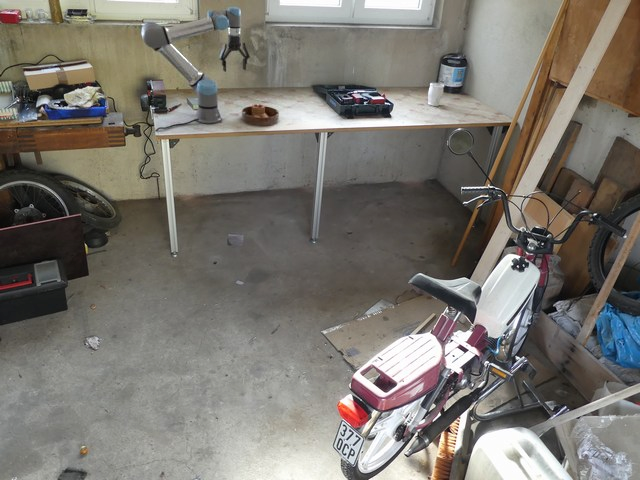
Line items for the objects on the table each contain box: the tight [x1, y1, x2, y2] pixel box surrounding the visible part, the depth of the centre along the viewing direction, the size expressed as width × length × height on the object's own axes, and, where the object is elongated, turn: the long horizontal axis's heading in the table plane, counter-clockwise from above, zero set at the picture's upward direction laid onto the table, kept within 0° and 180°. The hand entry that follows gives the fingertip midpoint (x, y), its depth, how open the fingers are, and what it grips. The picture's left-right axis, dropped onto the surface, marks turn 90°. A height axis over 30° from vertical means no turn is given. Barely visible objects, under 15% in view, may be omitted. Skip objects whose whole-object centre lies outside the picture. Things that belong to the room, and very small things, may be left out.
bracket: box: [251, 103, 268, 118], centre depth 335 cm, size 18×8×7 cm, turn 20°
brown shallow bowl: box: [241, 105, 280, 127], centre depth 335 cm, size 23×23×6 cm
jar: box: [427, 82, 445, 107], centre depth 391 cm, size 11×10×15 cm
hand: (234, 70), depth 332 cm, fingers open, 13 cm apart
